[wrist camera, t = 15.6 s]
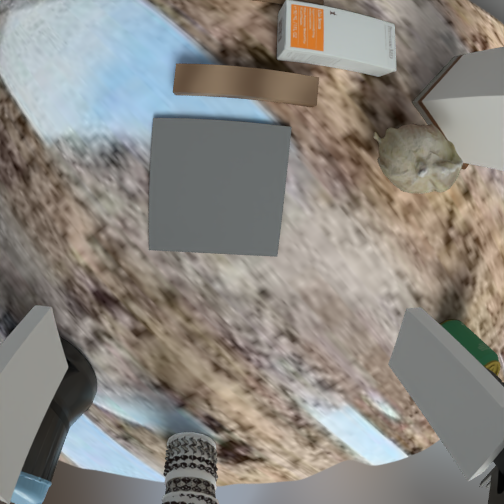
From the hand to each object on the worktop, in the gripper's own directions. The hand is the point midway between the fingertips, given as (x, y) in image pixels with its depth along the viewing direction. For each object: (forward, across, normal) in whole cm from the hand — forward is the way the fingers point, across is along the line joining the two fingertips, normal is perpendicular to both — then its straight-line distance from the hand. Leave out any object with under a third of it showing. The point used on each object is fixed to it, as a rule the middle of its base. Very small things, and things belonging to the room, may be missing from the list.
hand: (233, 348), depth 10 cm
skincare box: (+22, +5, +19) cm, 29 cm away
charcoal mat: (+24, 0, +2) cm, 24 cm away
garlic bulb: (+24, +20, +8) cm, 32 cm away
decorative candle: (+24, -4, -40) cm, 47 cm away
